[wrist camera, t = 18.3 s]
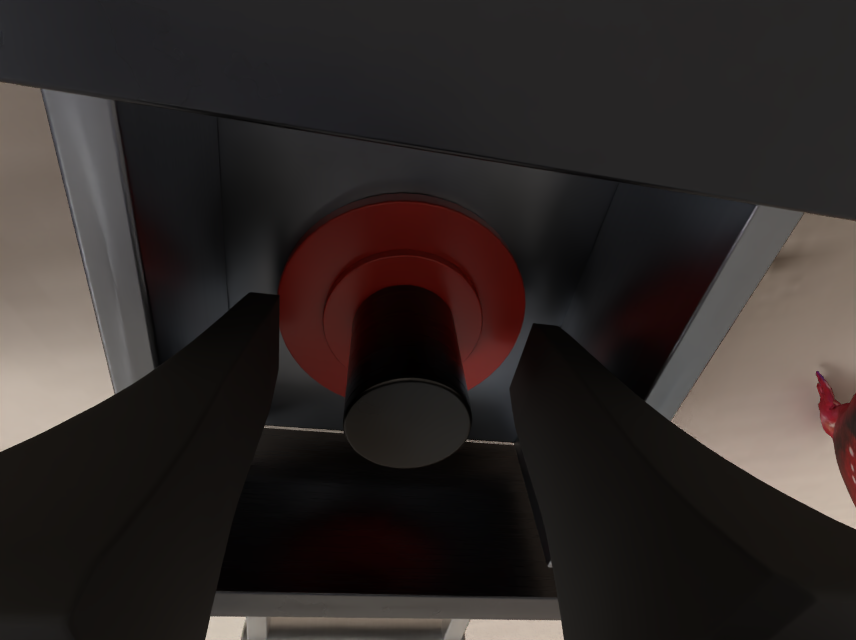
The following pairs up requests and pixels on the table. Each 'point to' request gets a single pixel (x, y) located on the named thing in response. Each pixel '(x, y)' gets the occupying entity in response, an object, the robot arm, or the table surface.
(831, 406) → the decorative bird figurine
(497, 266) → the lid
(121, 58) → the small drawer cabinet
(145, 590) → the robot arm
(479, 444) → the pull-out tray box
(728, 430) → the table surface
